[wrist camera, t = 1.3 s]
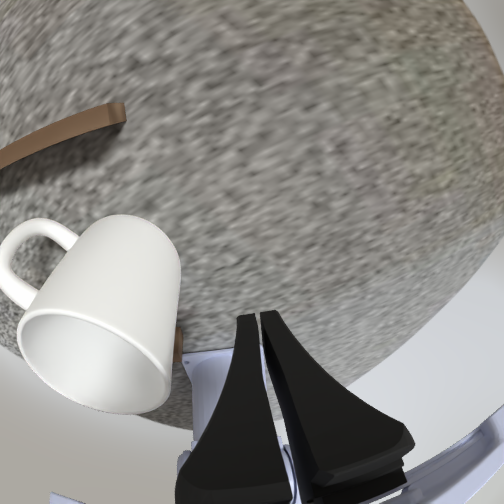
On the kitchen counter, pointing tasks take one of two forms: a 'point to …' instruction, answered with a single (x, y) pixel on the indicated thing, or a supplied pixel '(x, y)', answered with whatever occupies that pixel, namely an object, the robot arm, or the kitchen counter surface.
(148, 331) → the cup
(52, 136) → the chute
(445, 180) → the kitchen counter surface
